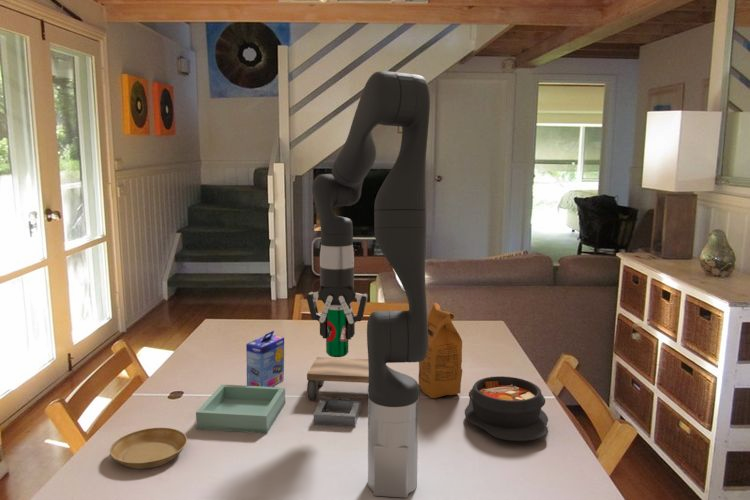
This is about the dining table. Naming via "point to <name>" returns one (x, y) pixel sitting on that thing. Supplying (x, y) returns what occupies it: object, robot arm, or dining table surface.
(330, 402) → the frame
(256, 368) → the ink cartridge box
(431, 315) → the coffee package
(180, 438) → the plant saucer
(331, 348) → the soda can
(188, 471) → the dining table surface
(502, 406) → the casserole
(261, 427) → the tray
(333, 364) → the trolley
